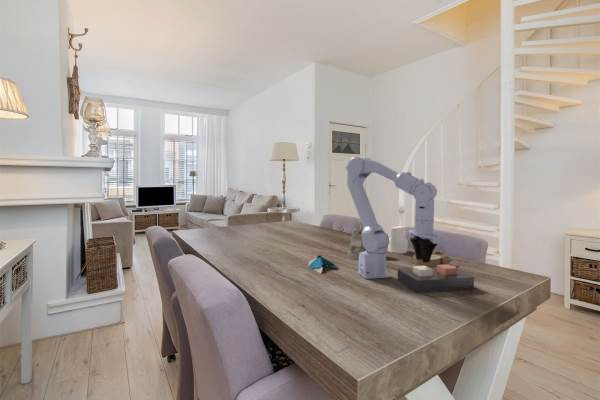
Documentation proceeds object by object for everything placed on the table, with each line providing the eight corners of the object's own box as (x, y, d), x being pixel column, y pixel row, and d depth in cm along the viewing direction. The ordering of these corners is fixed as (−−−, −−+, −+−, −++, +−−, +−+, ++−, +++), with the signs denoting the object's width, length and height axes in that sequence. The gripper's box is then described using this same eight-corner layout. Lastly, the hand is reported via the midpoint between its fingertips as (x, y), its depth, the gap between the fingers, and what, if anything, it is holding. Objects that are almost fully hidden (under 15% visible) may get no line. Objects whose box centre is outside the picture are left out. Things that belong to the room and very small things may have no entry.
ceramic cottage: (341, 255, 139) (344, 223, 137) (362, 251, 150) (365, 221, 148) (370, 265, 127) (373, 230, 126) (390, 259, 138) (394, 227, 137)
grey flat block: (417, 293, 93) (417, 280, 93) (397, 280, 105) (397, 269, 105) (473, 289, 97) (474, 277, 97) (448, 277, 109) (449, 266, 109)
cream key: (420, 279, 98) (420, 270, 97) (412, 275, 102) (412, 266, 102) (432, 278, 98) (432, 269, 98) (424, 274, 103) (424, 265, 102)
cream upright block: (394, 248, 155) (395, 225, 154) (410, 251, 148) (411, 227, 147) (384, 250, 149) (385, 226, 148) (400, 254, 142) (401, 229, 141)
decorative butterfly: (320, 254, 127) (336, 252, 120) (322, 269, 126) (339, 269, 119) (301, 257, 121) (318, 256, 113) (304, 274, 120) (320, 274, 112)
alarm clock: (409, 253, 133) (444, 248, 131) (411, 264, 133) (446, 259, 131) (417, 260, 122) (455, 255, 120) (418, 272, 122) (457, 267, 120)
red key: (444, 277, 99) (445, 268, 99) (436, 273, 104) (436, 264, 103) (456, 276, 100) (457, 268, 100) (447, 272, 104) (448, 264, 104)
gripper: (450, 222, 92) (448, 266, 93) (422, 216, 107) (421, 254, 108) (429, 223, 91) (427, 267, 92) (404, 217, 105) (402, 255, 106)
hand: (422, 260), depth 100 cm, fingers open, 3 cm apart
